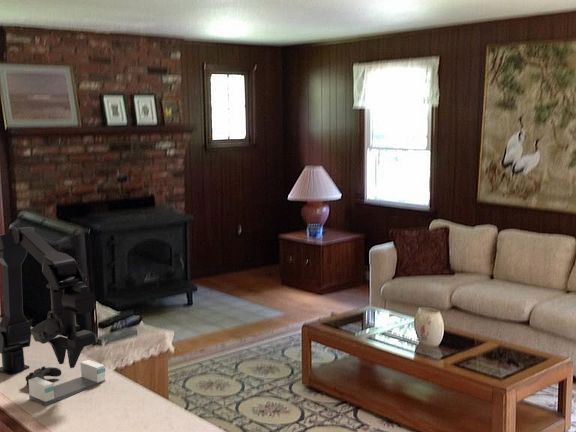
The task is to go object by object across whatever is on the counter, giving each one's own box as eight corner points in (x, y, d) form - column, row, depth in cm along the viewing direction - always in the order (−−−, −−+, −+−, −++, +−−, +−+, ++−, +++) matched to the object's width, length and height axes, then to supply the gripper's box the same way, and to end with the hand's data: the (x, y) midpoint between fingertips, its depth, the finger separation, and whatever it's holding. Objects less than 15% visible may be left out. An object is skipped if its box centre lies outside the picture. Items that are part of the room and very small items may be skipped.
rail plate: (29, 398, 176) (29, 395, 176) (89, 377, 190) (89, 373, 190) (45, 405, 172) (45, 401, 171) (105, 383, 186) (105, 379, 185)
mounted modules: (29, 395, 176) (28, 379, 175) (88, 373, 190) (88, 359, 189) (46, 402, 171) (45, 386, 171) (105, 379, 185) (105, 365, 185)
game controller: (46, 384, 180) (28, 369, 181) (34, 399, 182) (17, 383, 182) (64, 371, 190) (47, 356, 190) (53, 385, 191) (37, 370, 191)
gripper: (13, 308, 177) (17, 367, 179) (57, 320, 166) (61, 383, 168) (52, 298, 186) (55, 355, 188) (96, 310, 174) (99, 370, 176)
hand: (66, 365), depth 180 cm, fingers open, 4 cm apart
